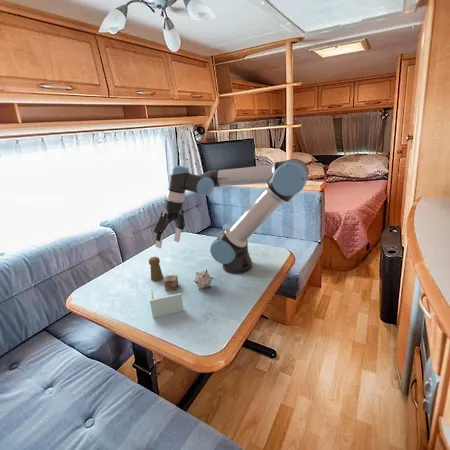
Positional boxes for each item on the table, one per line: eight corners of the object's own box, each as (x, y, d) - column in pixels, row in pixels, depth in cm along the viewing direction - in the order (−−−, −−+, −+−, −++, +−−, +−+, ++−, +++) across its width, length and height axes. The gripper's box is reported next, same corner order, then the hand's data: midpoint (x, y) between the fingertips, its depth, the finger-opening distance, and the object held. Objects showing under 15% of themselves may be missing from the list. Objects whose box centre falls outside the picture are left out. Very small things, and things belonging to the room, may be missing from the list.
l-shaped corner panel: (183, 310, 113) (181, 294, 111) (152, 317, 110) (149, 301, 108) (179, 295, 124) (177, 279, 122) (151, 301, 121) (148, 285, 119)
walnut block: (178, 284, 133) (177, 275, 132) (176, 290, 129) (175, 280, 127) (167, 285, 134) (166, 275, 132) (165, 290, 129) (163, 281, 127)
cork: (157, 282, 137) (153, 261, 133) (148, 279, 140) (144, 259, 136) (165, 276, 142) (162, 256, 138) (157, 274, 145) (153, 254, 141)
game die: (207, 296, 129) (209, 287, 121) (190, 289, 129) (190, 280, 121) (214, 279, 134) (216, 269, 126) (197, 273, 135) (198, 263, 127)
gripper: (184, 196, 141) (177, 236, 147) (149, 200, 119) (143, 247, 125) (196, 200, 138) (189, 241, 144) (163, 205, 116) (156, 252, 122)
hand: (167, 244), depth 134 cm, fingers open, 13 cm apart
